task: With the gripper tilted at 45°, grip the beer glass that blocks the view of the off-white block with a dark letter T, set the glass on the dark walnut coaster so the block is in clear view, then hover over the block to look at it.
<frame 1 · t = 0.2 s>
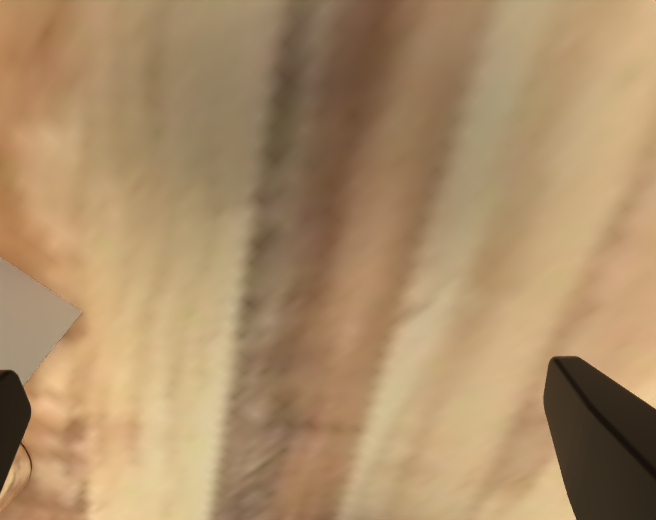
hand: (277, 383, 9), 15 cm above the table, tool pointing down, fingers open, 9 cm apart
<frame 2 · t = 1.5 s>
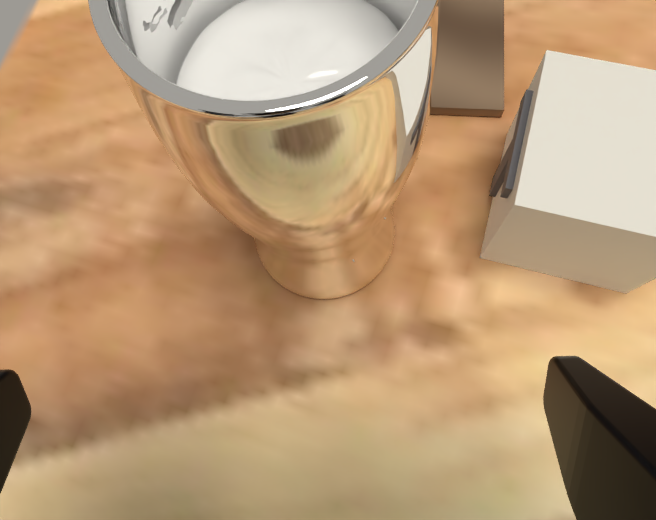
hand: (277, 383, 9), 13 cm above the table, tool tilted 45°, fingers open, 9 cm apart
letter block: (562, 210, 24), on the table
coaster: (396, 22, 27), on the table
beer glass: (325, 233, 25), on the table
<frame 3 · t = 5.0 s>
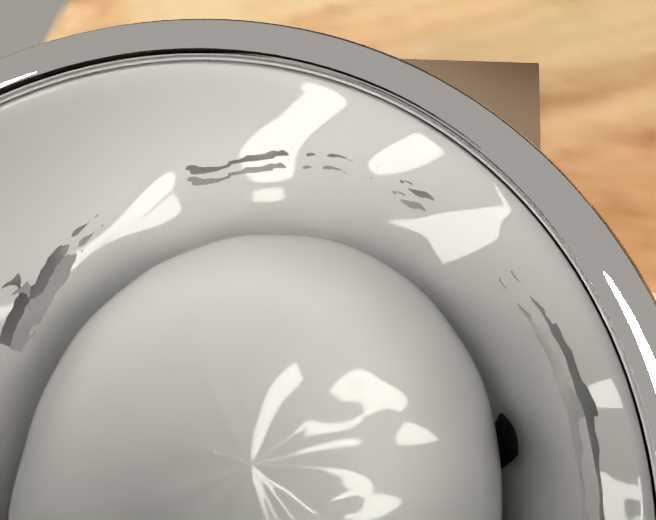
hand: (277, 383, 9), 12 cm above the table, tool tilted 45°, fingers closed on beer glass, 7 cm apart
coaster: (412, 171, 23), on the table
beer glass: (309, 467, 17), point 3 cm above the table, touching gripper
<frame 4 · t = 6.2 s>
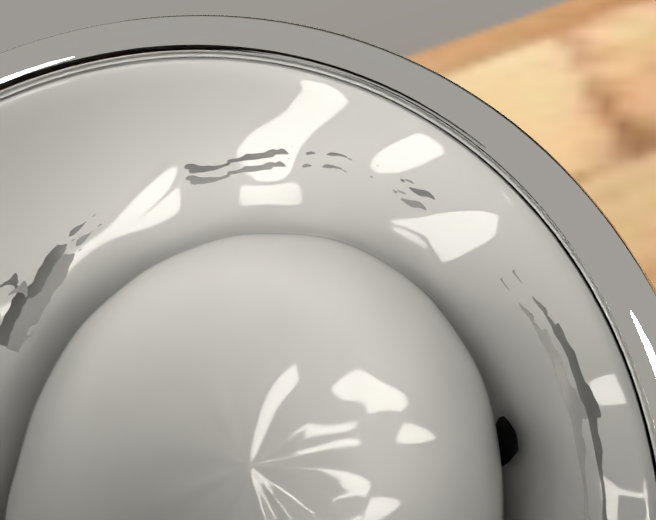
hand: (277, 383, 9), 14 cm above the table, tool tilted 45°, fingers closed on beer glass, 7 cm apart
beer glass: (309, 468, 17), point 5 cm above the table, touching gripper
when the fingers open (10 cm above the table, at t = 7.6 s): beer glass stays where it is, resting on coaster.
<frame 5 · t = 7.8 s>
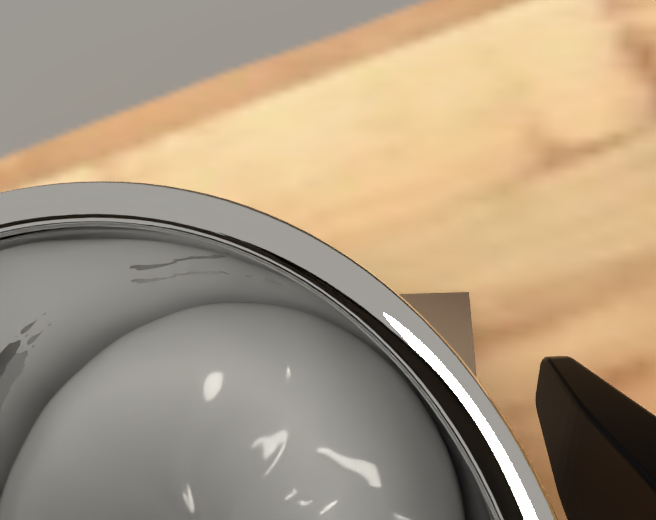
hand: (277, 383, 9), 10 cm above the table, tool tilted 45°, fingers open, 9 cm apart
coaster: (324, 449, 18), on the table
beer glass: (310, 477, 18), resting on coaster
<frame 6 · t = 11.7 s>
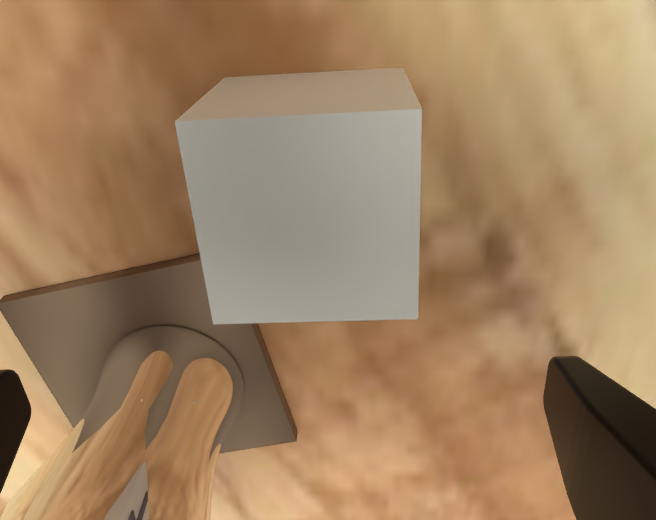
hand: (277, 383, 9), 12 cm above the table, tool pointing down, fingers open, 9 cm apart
letter block: (319, 158, 20), on the table
coaster: (159, 367, 25), on the table
beer glass: (177, 378, 25), resting on coaster
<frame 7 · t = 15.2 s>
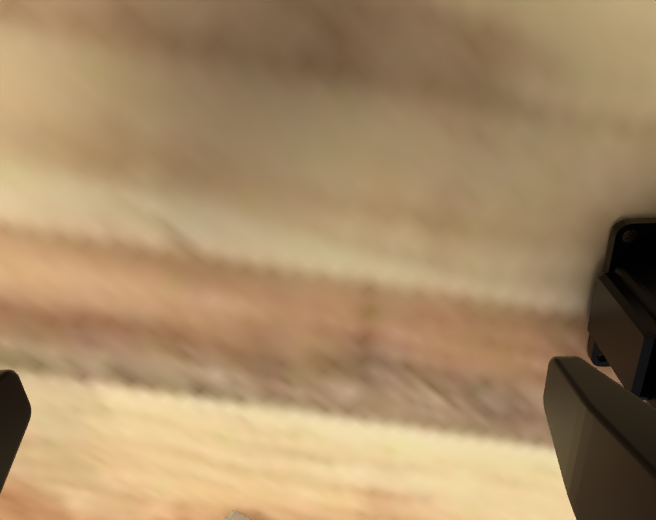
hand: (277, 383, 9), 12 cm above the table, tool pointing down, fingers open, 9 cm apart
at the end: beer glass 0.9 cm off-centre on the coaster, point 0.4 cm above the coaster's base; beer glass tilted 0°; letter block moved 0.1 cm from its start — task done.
